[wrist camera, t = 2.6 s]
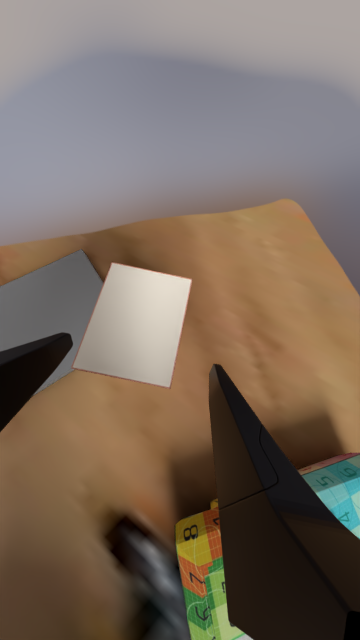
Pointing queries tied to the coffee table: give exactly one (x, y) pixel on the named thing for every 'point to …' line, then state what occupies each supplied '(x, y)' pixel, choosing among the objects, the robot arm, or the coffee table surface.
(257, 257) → the coffee table surface
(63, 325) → the mat
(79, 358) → the card box
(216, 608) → the puzzle game
